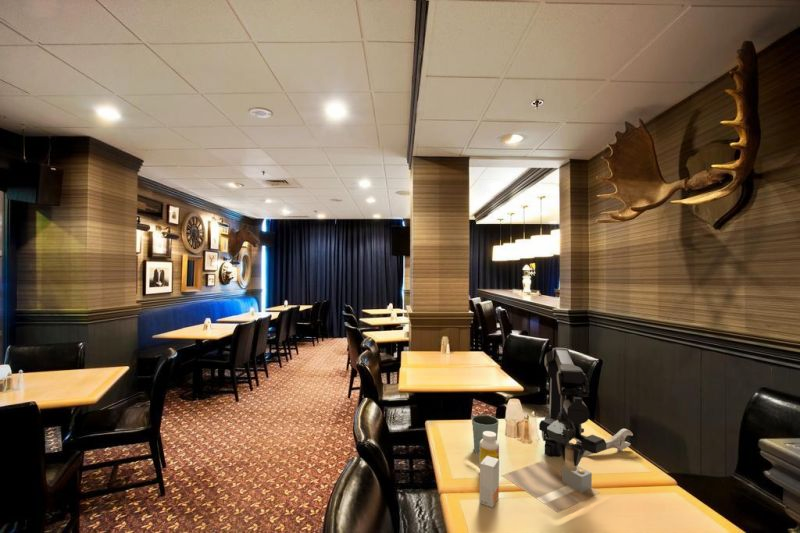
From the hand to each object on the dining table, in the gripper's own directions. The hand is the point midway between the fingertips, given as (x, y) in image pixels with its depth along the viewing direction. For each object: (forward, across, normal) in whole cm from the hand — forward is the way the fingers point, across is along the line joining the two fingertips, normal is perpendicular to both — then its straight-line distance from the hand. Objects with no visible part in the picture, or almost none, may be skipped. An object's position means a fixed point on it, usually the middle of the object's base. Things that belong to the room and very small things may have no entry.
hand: (570, 463), depth 112 cm
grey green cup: (+13, -38, +2) cm, 40 cm away
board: (+12, -9, +2) cm, 16 cm away
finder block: (+11, -4, +9) cm, 15 cm away
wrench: (+13, -14, +39) cm, 44 cm away
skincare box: (+13, -14, -19) cm, 27 cm away
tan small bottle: (+2, 0, 0) cm, 2 cm away
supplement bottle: (+13, -27, -7) cm, 30 cm away
